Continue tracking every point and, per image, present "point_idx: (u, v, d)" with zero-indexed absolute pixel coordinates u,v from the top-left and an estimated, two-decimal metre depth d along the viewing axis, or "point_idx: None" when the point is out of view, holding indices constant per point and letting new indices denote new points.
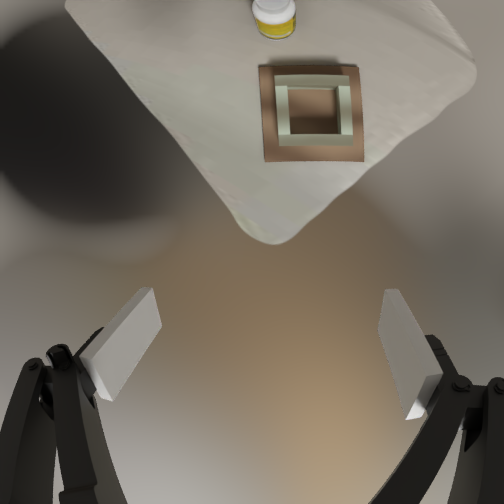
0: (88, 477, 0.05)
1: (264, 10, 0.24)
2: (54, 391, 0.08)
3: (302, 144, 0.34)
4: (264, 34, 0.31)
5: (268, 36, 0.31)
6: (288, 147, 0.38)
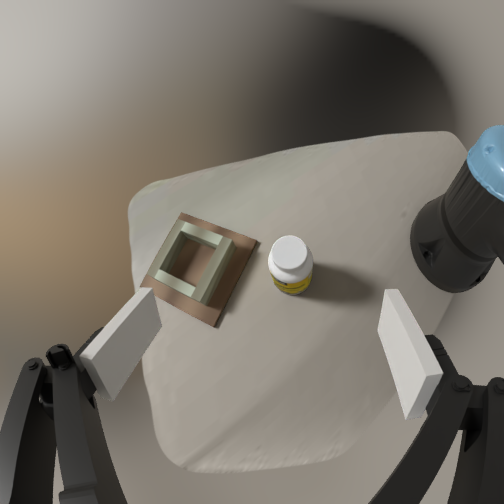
0: (88, 477, 0.05)
1: None
2: (54, 391, 0.08)
3: (169, 235, 0.42)
4: None
5: None
6: None
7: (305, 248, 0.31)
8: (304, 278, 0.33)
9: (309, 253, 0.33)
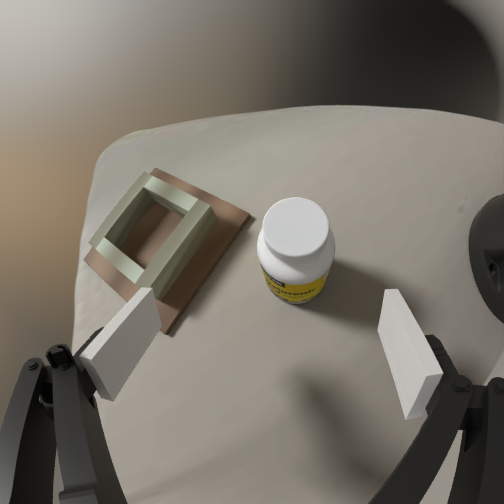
0: (88, 477, 0.05)
1: None
2: (54, 391, 0.08)
3: (127, 193, 0.28)
4: None
5: None
6: None
7: (326, 223, 0.16)
8: (316, 279, 0.19)
9: (330, 236, 0.19)
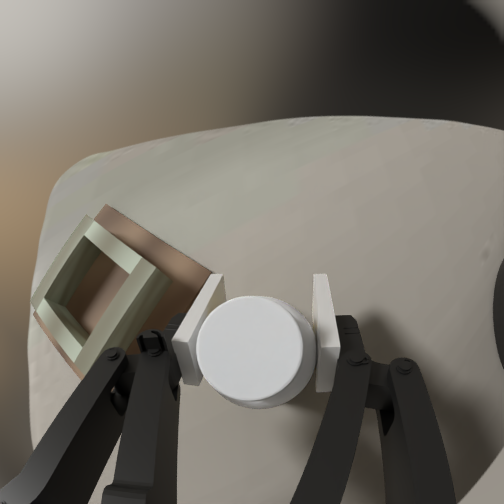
0: (144, 478, 0.05)
1: None
2: (136, 377, 0.09)
3: (67, 242, 0.21)
4: None
5: None
6: None
7: (298, 345, 0.10)
8: None
9: (310, 344, 0.12)
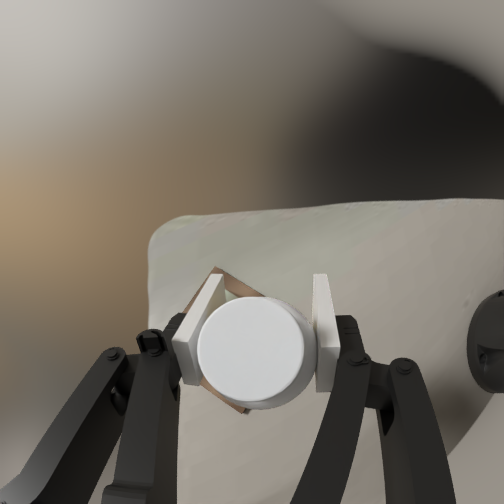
0: (144, 478, 0.05)
1: None
2: (136, 377, 0.09)
3: None
4: None
5: None
6: None
7: (299, 346, 0.10)
8: None
9: (310, 345, 0.12)
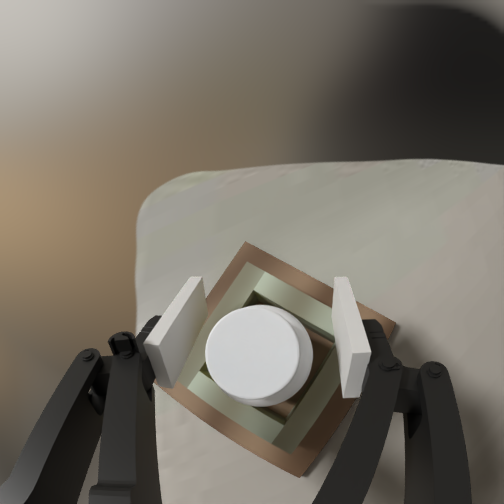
0: (127, 476, 0.05)
1: None
2: (110, 379, 0.09)
3: (224, 298, 0.19)
4: None
5: None
6: None
7: (295, 350, 0.11)
8: None
9: (306, 348, 0.13)
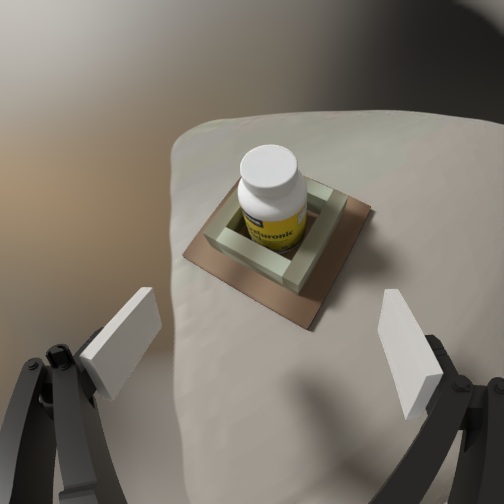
0: (88, 477, 0.05)
1: None
2: (54, 391, 0.08)
3: None
4: None
5: None
6: None
7: (294, 162, 0.19)
8: (290, 216, 0.21)
9: (302, 179, 0.21)
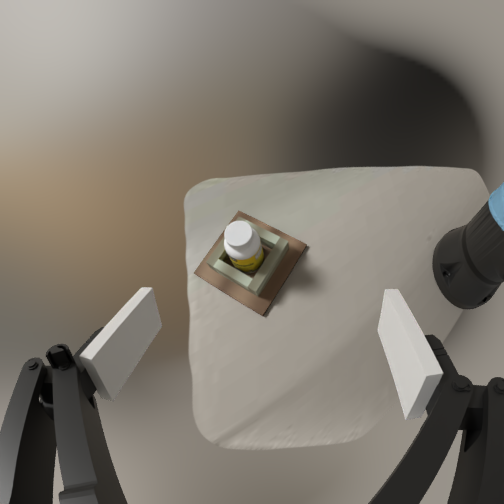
0: (88, 477, 0.05)
1: None
2: (54, 391, 0.08)
3: None
4: None
5: None
6: None
7: (251, 231, 0.40)
8: (250, 257, 0.42)
9: (257, 237, 0.42)
